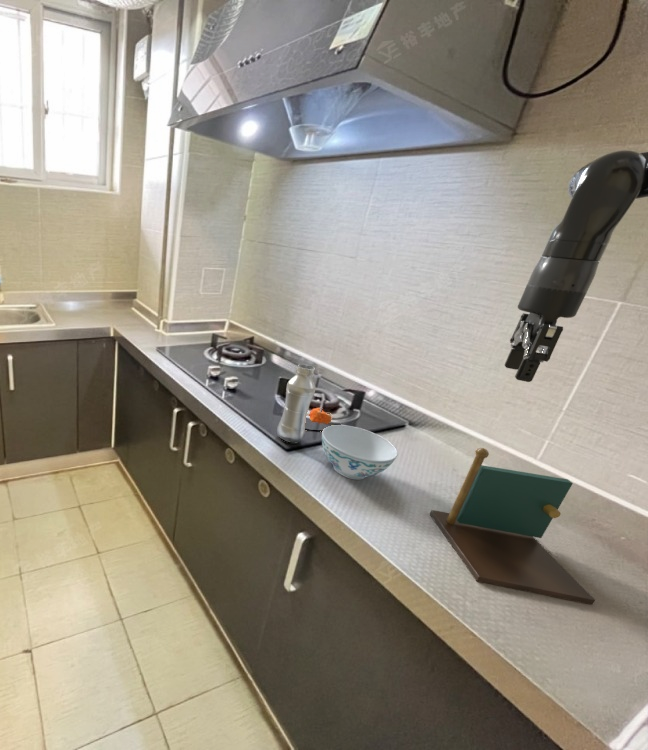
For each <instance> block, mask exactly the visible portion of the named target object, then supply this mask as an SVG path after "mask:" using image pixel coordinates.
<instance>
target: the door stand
mask: <svg viewBox="0 0 648 750" xmlns="http://www.w3.org/2000/svg"><path fill="white" fill-rule="evenodd" d="M474 454H475V457H474V459H473V460H472V463H471V465H470V468H469V469H468V471H467V474H466V476H465V479H464V481H463V483H462V485H461V488H460V489H459V492H458V494H457V496H456V498H455V501H454V503H453V506H452V507H451V509H450V512H446V511H440V510H435V509H430V511H429V516H430V517H431V518H432V520H433V521H434V523H435V524H436V526H437V527H438V528H439V530H440V531H441V532H442V534H443V535H444V537H445V538H446V540H447V542H448V543H449V544H450V545H451V547H452V549H454V551H455V553H456V554H457V555H458V557H459V558H460V560H461V561H462V562H463V564H464V565H465V567H466V568H467V569H468V572H469V573H470V574H471V575H472V577H473V578H474V580H475V581H476V582H479V583H484V584H490V585H494V586H499V587H504V588H507V589H513V590H519V591H522V592H529V593H533V594H538V595H543V596H548V597H552V598H556V599H557V598H558V599H561V600H562V599H563V600H566V601H572V602H576V603H581V604H582V603H583V604H587V605H591V606H593V605H594V603H595V602H596V599H595V598H594V597H593V596H592V595H591V594H590V593H589V591H587V590H586V589H585V588H584V587H583V586H582V585H581V583H579V581H577V580H576V579H575V578H574V576H572V575H571V573H570V572H568V570H566V569H565V568H564V567H563V565H561V564H560V562H558V560H556V558H555V557H553V555H552V554H551V553H550V552H548V550H547V549H546V548H545V547H544V546H543V545H542V544H541V543H540V542H539V541H538V540H537V539H536V537H532V536H527V535H521V534H516V533H510V532H505V531H500V530H494V529H489V528H483V527H478V526H473V525H467V524H462V523H459V522H458V521H457V520H456V519H457V517H458V514H459V512H460V510H461V508H462V506H463V504H464V502H465V499H466V497H467V495H468V493H469V491H470V489H471V487H472V484H473V482H474V480H475V478H476V476H477V474H478V471H479V469H480V467H481V465H483V463H484V460H485V459H487V458H488V457H489V456H490V452H489V450H487V448H484V447H478V448H476V449H475V451H474Z"/></svg>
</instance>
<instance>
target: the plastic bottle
mask: <svg viewBox="0 0 648 750" xmlns="http://www.w3.org/2000/svg"><path fill="white" fill-rule="evenodd" d="M314 372H315V367H314V366H312V365H310V364H305V363H304V364H303V363H299V364H298V365H297V368H296V370H295V373H296V374H295V375H294V376H292V377H291V378H290V379H289V380H288V382H287V384H286V388H285V389H286V390H285V391H286V392H285V402H284V409H283V411H282V415H281V418H280V420H279V422H278V425H277V428H276V434H277V437H278V438H279V437H280V438H282V439H284V440H286V441H290V442H299V443H301V442H302V441H303V440H304V438H305V435H306V430H305V423H306V416H307V412H308V411H309V409H310V405H311V403H312V401H313V398H314V396H315V393H316V384H315V382H314V380H313V377H314V375H315V373H314ZM280 438H279V439H280ZM300 441H301V442H300Z"/></svg>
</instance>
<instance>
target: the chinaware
mask: <svg viewBox="0 0 648 750" xmlns="http://www.w3.org/2000/svg"><path fill="white" fill-rule="evenodd" d="M321 445H322V449H323V452H324V454H325V456H326V458H327V460H328V461H329V462H330V463H331V465H332V466H333V470H334V471H335V472H337V473H338V474H339V475H341V476H342V477H344V478H347V479H350V480H364V479H365V478H366V477H372V476H375V475H378V474H381V473H383V472H384V471H385V470H387V469H388V468H389V467H390V466H391V465H392V464H393V463H394V461H395V460H396V459H397V456H398V450H397V448H396V447H395V445H393V444H392V442H390V441H389V440H388V439H386V438H385V437H383V436H381V435H379V434H377V433H375V432H372V431H370V430H367V429H364V428H361V427H358V426H352V425H346V424H341V425H331V426H328V427H326V428H324V429H323V431H322V432H321Z"/></svg>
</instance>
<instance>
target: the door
mask: <svg viewBox="0 0 648 750" xmlns="http://www.w3.org/2000/svg"><path fill="white" fill-rule="evenodd" d="M572 486H573V482H572V481H570V480H569V479H568V478H562V477H556V476H550V475H545V474H544V475H543V474H537V473H531V472H525V471H521V470H520V471H519V470H513V469H507V468H500V467H495V466H489V465H483V464H482V465H481V467H480V469H479V471H478V474H477V476H476V478H475V480H474V482H473V484H472V487H471V489H470V491H469V493H468V495H467V497H466V499H465V502H464V504H463V506H462V508H461V510H460V512H459V514H458V517H457V519H456V520H457V521H458V522H459V523H462V524H467V525H473V526H478V527H483V528H489V529H494V530H500V531H505V532H510V533H516V534H521V535H527V536H532V537H534V538H538V539H542V538H543V537H544V534H545V533H546V531H547V529H548V528H549V526H550V524H551V522H552V520H553V519H556V518H559V517H560V516H561V511H560V510H559V508H560V506H561V505H562V503H563V502H564V500H565V498H566V496H567V494H568V493H569V491H570V489H571V487H572Z"/></svg>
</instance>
